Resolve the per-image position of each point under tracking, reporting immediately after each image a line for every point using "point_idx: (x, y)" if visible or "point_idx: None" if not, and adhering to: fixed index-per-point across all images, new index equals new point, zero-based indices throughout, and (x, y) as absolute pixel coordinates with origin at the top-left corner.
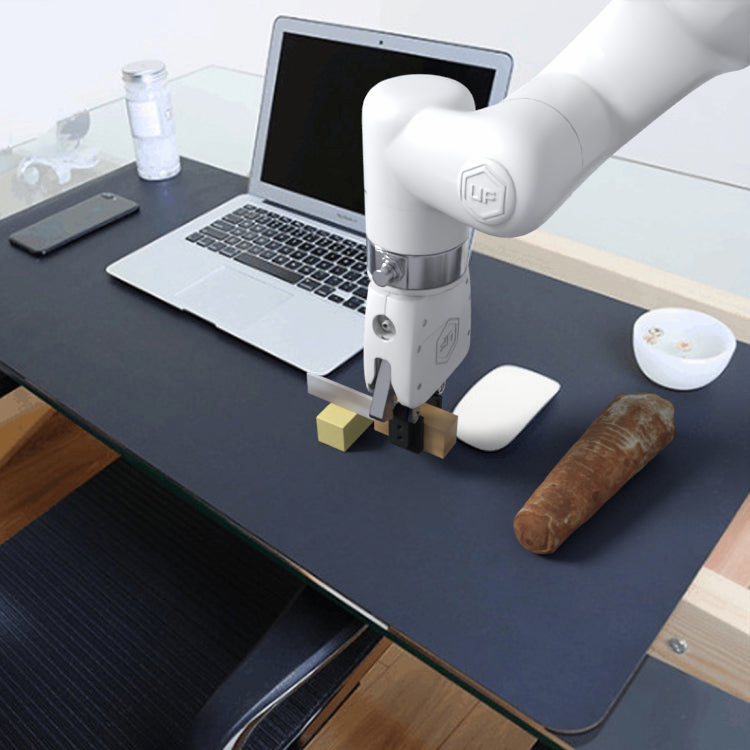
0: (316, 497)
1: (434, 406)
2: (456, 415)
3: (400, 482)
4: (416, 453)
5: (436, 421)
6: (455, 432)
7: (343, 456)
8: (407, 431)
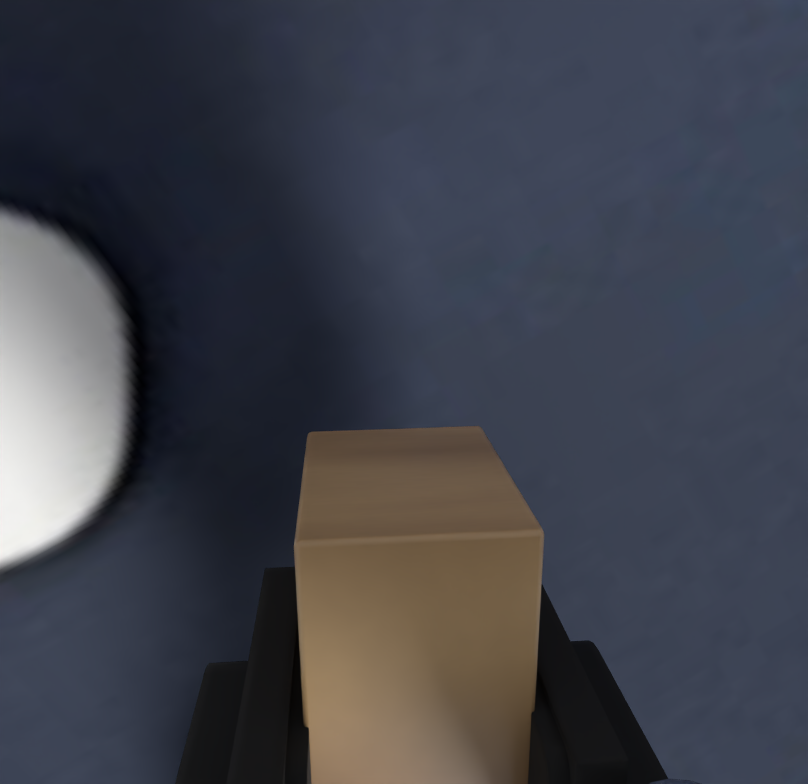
0: (766, 732)
1: (308, 746)
2: (301, 557)
3: (545, 525)
4: None
5: (465, 646)
6: (331, 471)
7: None
8: (640, 742)
